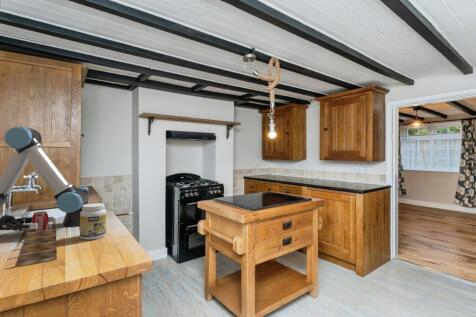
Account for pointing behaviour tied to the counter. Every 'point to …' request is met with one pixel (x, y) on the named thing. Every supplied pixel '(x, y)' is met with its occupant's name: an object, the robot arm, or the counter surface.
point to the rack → (39, 247)
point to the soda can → (40, 221)
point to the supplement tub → (93, 221)
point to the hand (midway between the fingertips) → (45, 222)
